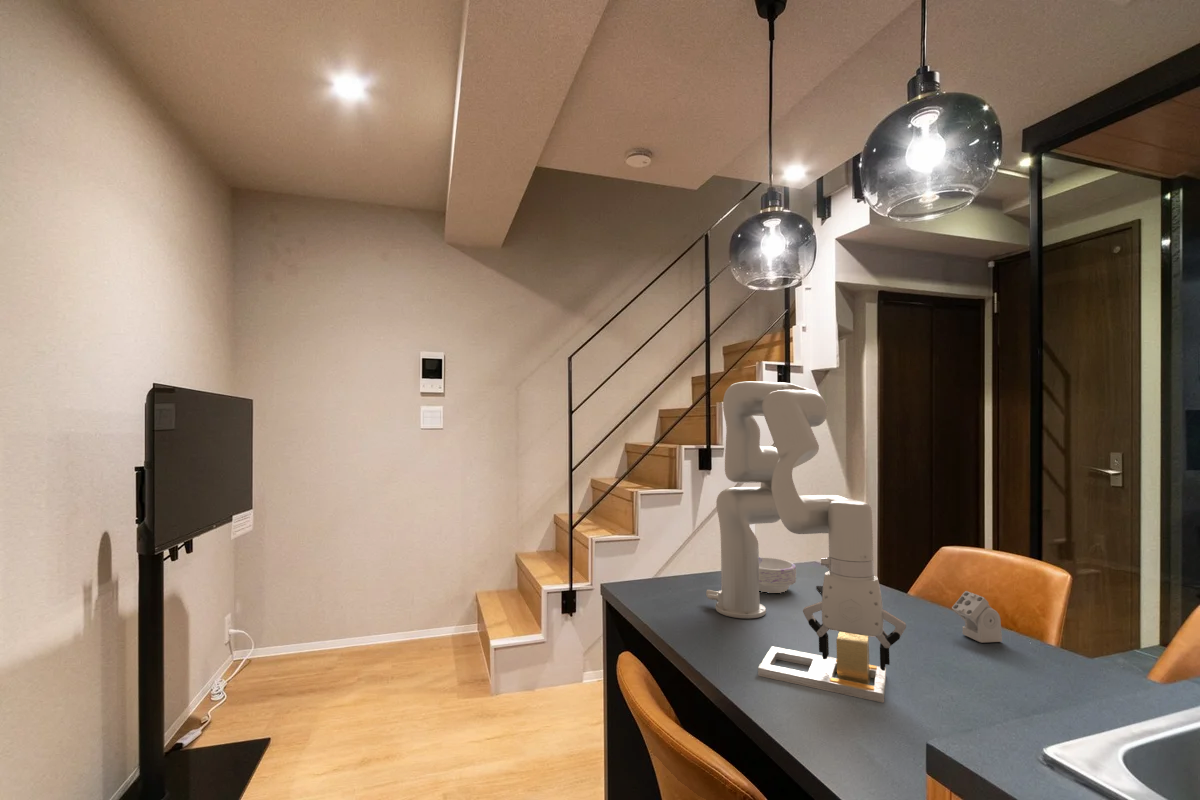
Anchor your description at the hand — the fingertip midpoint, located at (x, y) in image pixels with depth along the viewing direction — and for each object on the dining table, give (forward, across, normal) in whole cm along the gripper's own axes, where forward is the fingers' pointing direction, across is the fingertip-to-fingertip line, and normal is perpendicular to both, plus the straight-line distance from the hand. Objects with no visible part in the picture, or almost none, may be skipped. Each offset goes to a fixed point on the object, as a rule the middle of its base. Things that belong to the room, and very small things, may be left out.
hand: (853, 662), depth 100 cm
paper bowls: (+4, -27, +54) cm, 60 cm away
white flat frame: (+4, -6, 0) cm, 7 cm away
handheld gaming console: (+4, -9, +59) cm, 60 cm away
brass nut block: (+4, 0, 0) cm, 4 cm away
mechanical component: (+4, +22, +37) cm, 43 cm away
